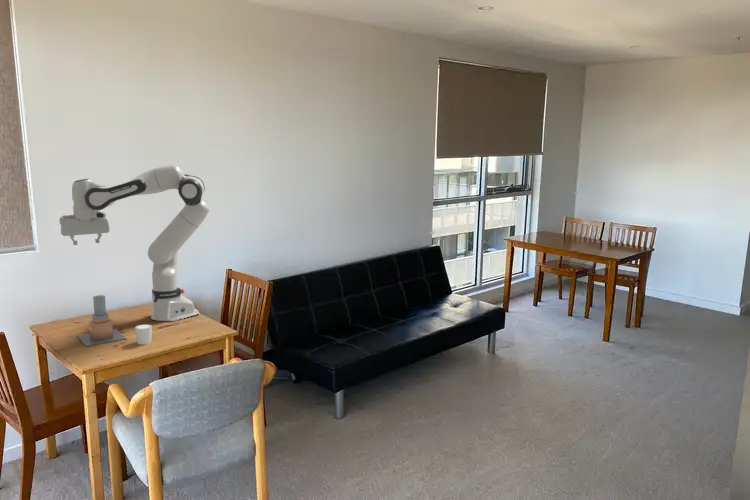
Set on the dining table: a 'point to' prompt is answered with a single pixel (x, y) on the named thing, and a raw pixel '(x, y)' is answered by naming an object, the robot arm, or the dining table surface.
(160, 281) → the robot arm
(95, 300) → the stopper
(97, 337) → the jar
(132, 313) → the dining table surface
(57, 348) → the dining table surface
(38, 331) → the dining table surface
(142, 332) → the white cup
